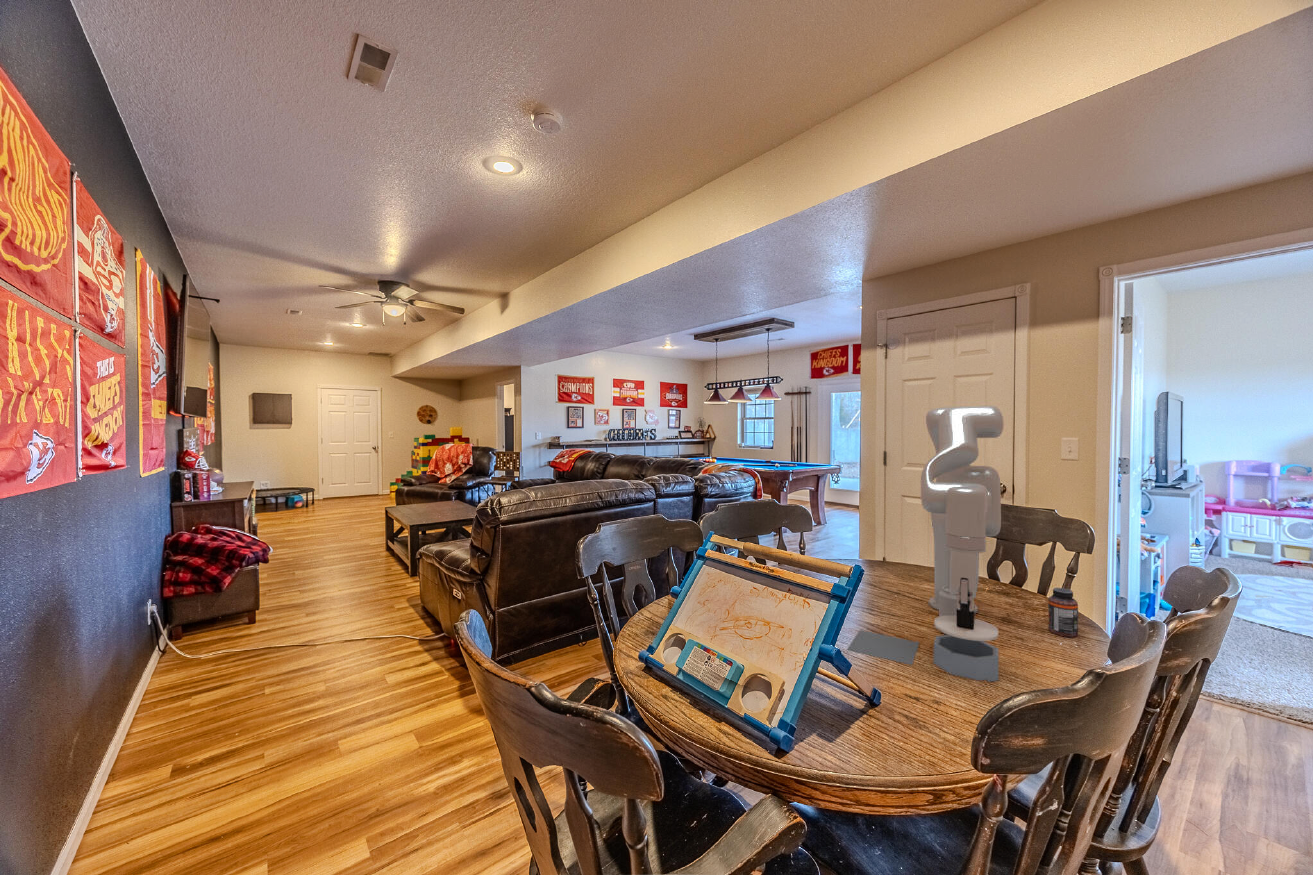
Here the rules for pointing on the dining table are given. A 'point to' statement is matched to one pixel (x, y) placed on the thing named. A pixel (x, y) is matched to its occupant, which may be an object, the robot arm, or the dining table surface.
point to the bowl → (967, 658)
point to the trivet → (884, 647)
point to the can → (947, 602)
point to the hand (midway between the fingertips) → (965, 624)
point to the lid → (979, 633)
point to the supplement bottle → (1063, 613)
